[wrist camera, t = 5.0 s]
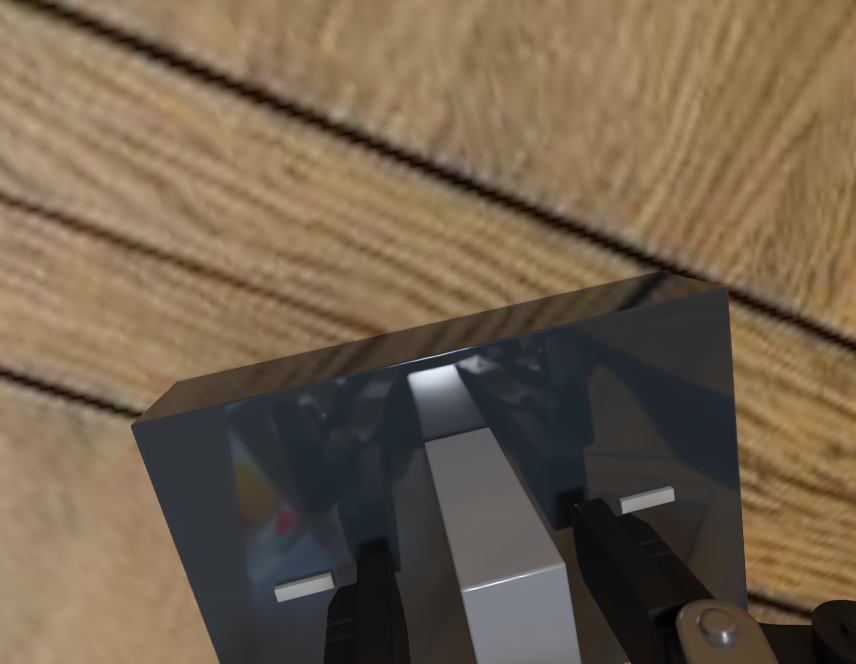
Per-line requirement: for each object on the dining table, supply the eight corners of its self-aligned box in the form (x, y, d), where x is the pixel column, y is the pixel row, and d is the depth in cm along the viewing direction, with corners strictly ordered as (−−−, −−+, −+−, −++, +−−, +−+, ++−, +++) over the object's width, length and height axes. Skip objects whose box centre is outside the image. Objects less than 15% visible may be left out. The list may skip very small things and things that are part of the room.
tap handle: (423, 441, 13) (463, 603, 7) (489, 425, 13) (572, 574, 8) (469, 646, 14) (529, 895, 9) (528, 630, 14) (619, 867, 9)
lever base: (660, 270, 15) (733, 287, 12) (687, 561, 18) (753, 634, 15) (175, 381, 15) (125, 428, 12) (275, 669, 17) (256, 771, 14)
